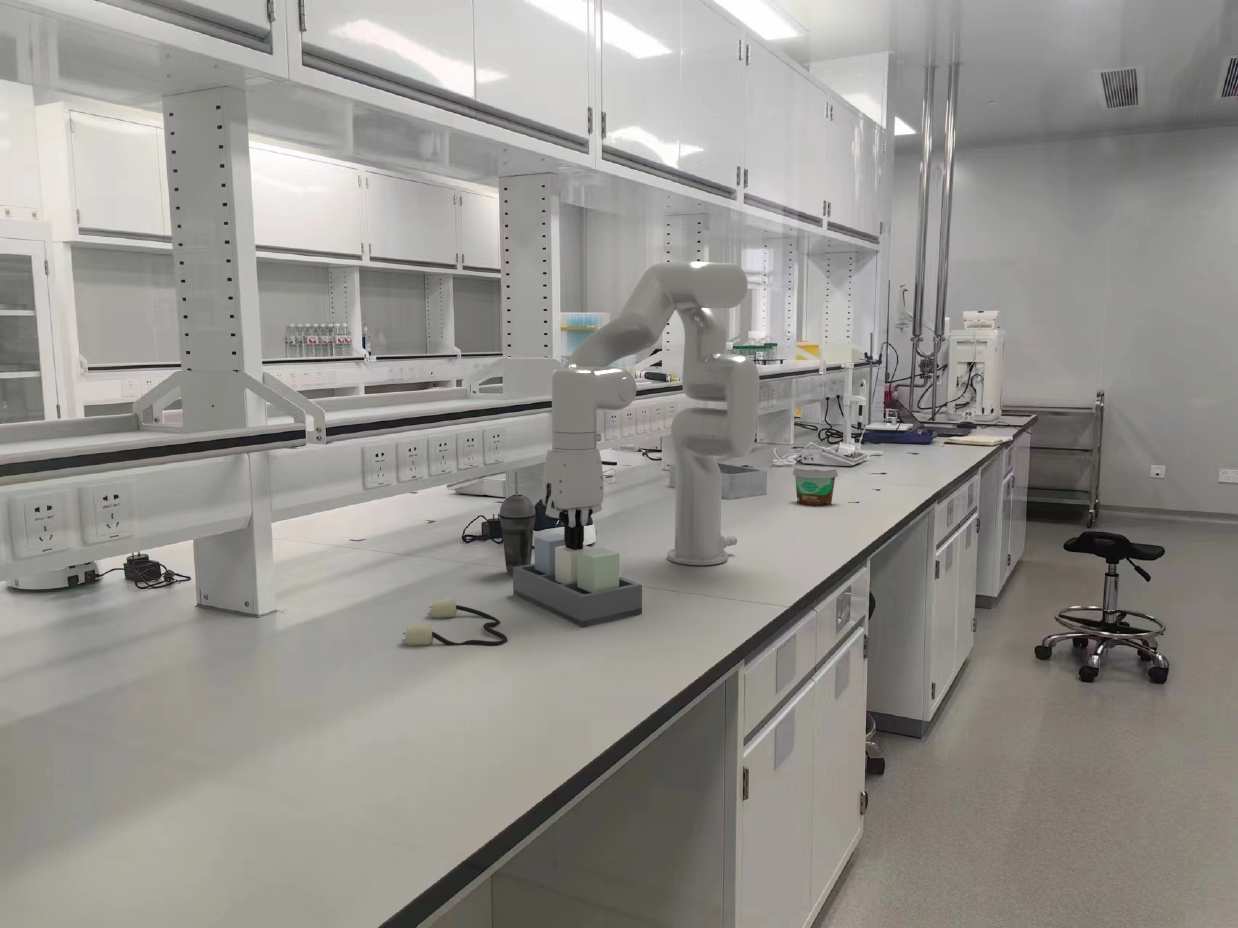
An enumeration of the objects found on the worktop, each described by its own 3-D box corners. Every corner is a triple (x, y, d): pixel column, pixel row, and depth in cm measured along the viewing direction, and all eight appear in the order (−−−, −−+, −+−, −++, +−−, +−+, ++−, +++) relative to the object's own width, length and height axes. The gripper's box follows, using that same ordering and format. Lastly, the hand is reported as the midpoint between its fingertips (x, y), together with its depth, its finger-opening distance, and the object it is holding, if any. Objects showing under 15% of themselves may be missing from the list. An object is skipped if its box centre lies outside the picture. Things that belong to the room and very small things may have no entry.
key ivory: (579, 576, 156) (579, 543, 155) (595, 582, 152) (595, 548, 151) (555, 580, 153) (555, 547, 152) (570, 587, 149) (570, 552, 148)
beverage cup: (502, 579, 168) (500, 475, 166) (497, 569, 175) (495, 470, 173) (540, 576, 170) (538, 474, 168) (533, 567, 177) (532, 468, 174)
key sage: (602, 582, 150) (601, 547, 149) (619, 588, 146) (619, 553, 145) (577, 586, 147) (577, 551, 146) (594, 593, 143) (594, 557, 142)
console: (569, 583, 165) (569, 557, 165) (642, 613, 147) (642, 584, 147) (513, 594, 158) (512, 567, 158) (582, 627, 140) (582, 597, 140)
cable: (521, 617, 147) (521, 597, 147) (503, 652, 131) (502, 630, 130) (429, 615, 148) (429, 595, 147) (400, 649, 132) (399, 627, 131)
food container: (789, 505, 243) (790, 469, 242) (791, 501, 249) (793, 466, 248) (835, 508, 240) (836, 471, 238) (836, 504, 245) (838, 468, 244)
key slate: (558, 565, 161) (558, 533, 160) (573, 570, 157) (573, 538, 156) (534, 569, 158) (534, 536, 158) (549, 575, 154) (548, 541, 154)
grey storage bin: (705, 482, 282) (706, 460, 281) (766, 494, 261) (767, 470, 260) (669, 486, 274) (669, 464, 273) (729, 499, 252) (729, 475, 251)
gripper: (598, 437, 156) (597, 538, 159) (524, 442, 147) (525, 549, 150) (623, 441, 150) (622, 546, 153) (548, 446, 141) (548, 558, 144)
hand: (574, 547), depth 151 cm, fingers closed
